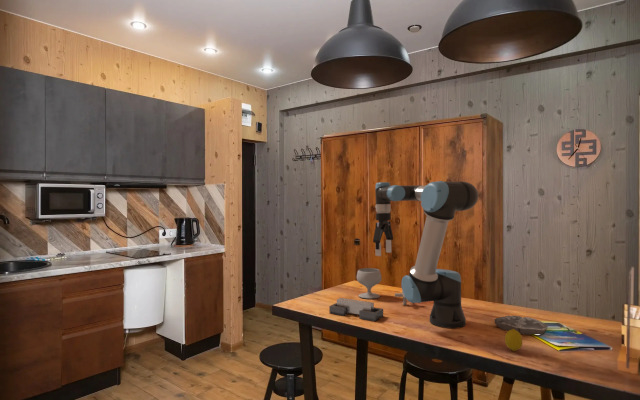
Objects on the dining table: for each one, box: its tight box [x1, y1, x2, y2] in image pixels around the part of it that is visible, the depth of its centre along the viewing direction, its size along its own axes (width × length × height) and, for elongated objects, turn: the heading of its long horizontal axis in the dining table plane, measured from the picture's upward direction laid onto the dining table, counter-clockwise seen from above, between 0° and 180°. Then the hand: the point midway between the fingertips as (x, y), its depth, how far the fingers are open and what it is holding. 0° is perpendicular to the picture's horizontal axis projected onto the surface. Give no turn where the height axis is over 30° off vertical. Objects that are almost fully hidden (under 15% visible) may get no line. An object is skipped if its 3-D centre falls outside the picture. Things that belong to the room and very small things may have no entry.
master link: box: [336, 297, 375, 315], centre depth 180 cm, size 18×4×6 cm, turn 58°
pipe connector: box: [394, 291, 408, 306], centre depth 196 cm, size 10×10×10 cm
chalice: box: [356, 267, 382, 300], centre depth 214 cm, size 14×14×15 cm
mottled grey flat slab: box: [494, 315, 549, 336], centre depth 159 cm, size 20×17×3 cm
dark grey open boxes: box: [329, 302, 384, 322], centre depth 180 cm, size 24×9×4 cm, turn 58°
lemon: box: [504, 329, 523, 352], centre depth 135 cm, size 6×6×8 cm
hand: (383, 254), depth 194 cm, fingers open, 13 cm apart
